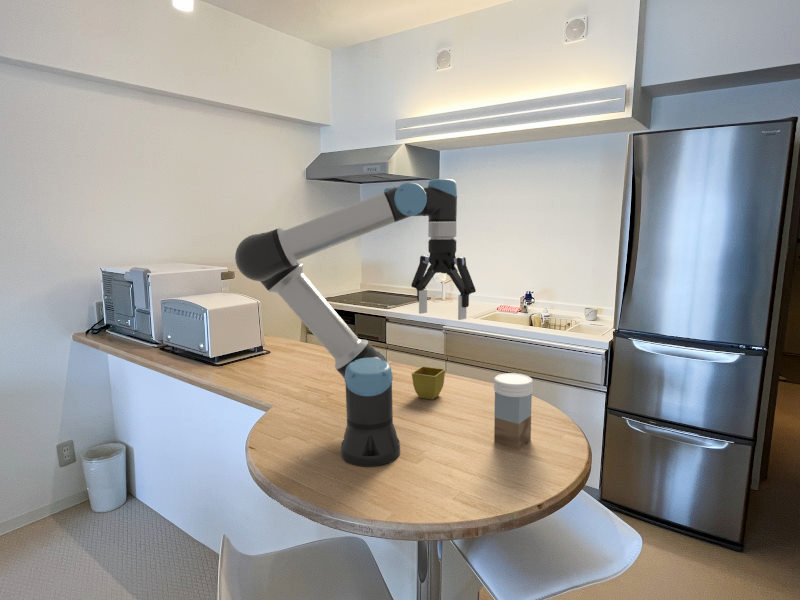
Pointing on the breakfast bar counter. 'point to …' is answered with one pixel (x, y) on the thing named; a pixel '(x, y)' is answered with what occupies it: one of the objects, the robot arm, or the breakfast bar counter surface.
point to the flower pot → (428, 382)
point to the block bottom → (512, 433)
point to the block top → (513, 408)
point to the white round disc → (513, 385)
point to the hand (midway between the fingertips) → (441, 316)
